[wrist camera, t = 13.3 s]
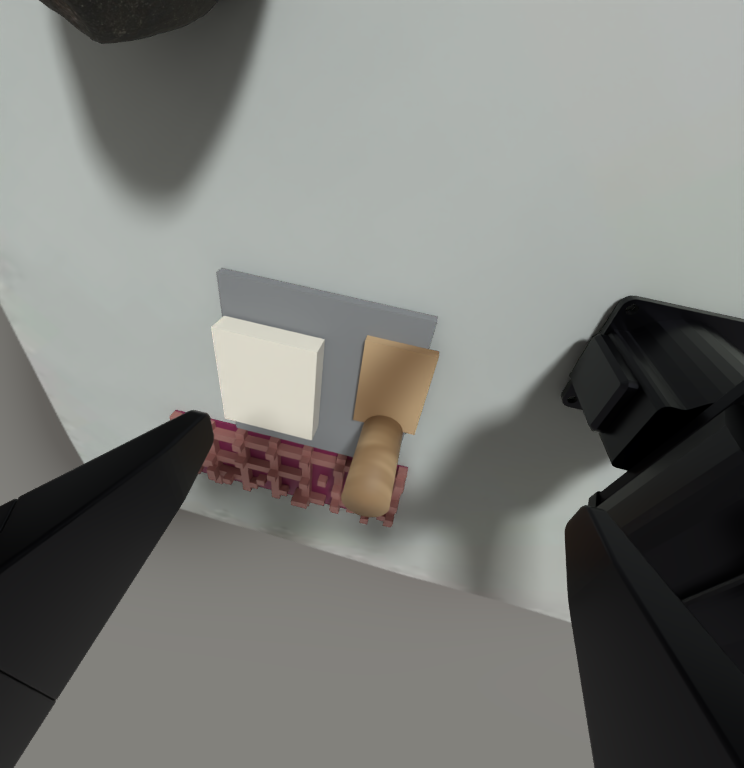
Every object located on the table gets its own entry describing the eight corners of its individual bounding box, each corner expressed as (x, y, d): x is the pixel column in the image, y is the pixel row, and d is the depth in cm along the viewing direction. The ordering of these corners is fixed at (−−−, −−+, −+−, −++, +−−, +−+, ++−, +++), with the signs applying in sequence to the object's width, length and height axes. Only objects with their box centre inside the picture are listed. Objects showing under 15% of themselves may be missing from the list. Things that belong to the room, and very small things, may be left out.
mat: (437, 316, 19) (437, 322, 19) (395, 461, 27) (394, 467, 26) (222, 267, 20) (216, 271, 19) (240, 422, 27) (236, 427, 27)
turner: (439, 351, 20) (431, 428, 15) (410, 444, 24) (397, 525, 20) (367, 335, 20) (338, 405, 15) (352, 430, 25) (326, 506, 20)
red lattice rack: (172, 403, 28) (155, 420, 27) (408, 461, 27) (405, 482, 26) (188, 461, 33) (175, 479, 31) (392, 513, 32) (389, 534, 30)
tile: (317, 352, 19) (210, 327, 20) (311, 440, 24) (224, 418, 24) (325, 337, 20) (225, 314, 21) (319, 424, 25) (236, 403, 25)
